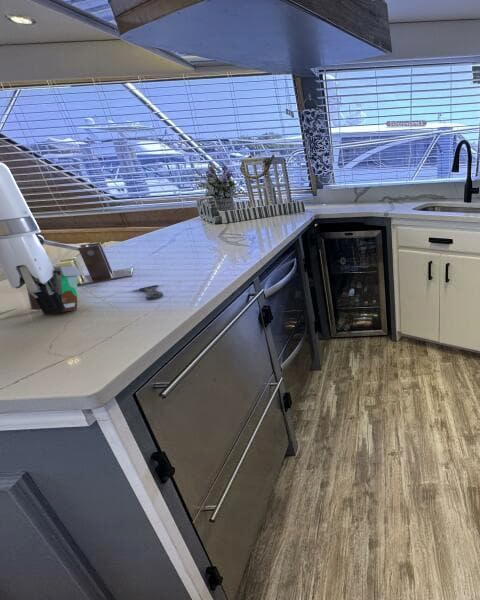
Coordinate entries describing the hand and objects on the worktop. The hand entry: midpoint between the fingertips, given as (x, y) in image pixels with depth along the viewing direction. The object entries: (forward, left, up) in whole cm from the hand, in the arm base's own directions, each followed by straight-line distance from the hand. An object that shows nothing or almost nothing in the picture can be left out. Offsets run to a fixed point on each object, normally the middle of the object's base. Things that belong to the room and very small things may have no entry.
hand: (55, 311), depth 71 cm
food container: (0, +6, -2) cm, 6 cm away
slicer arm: (0, +29, +8) cm, 31 cm away
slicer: (+6, +29, -2) cm, 30 cm away
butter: (0, +29, -1) cm, 29 cm away
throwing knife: (+17, +9, -2) cm, 19 cm away
